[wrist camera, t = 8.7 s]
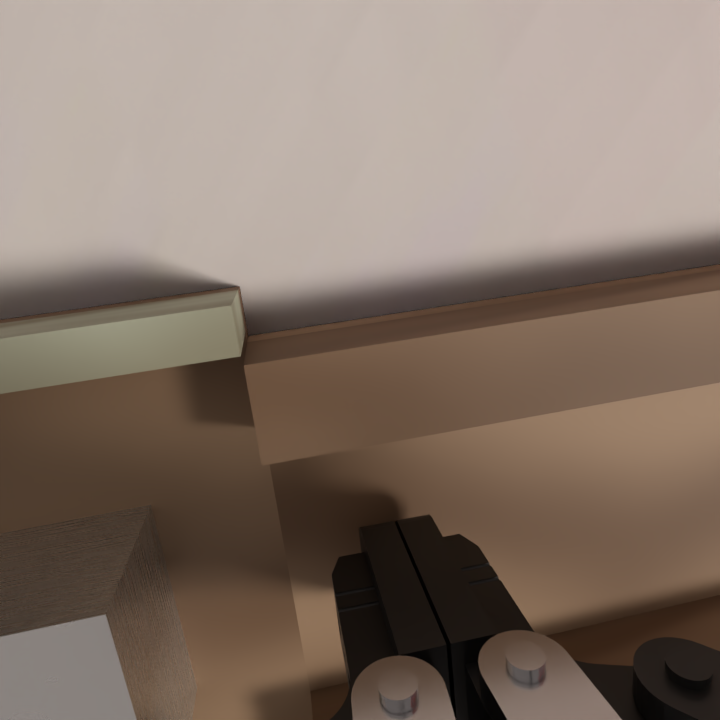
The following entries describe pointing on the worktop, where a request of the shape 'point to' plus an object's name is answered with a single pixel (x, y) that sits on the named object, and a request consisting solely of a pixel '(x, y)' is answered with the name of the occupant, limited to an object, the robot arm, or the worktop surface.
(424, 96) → the worktop surface
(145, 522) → the block
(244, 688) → the slotted board with tray
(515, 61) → the worktop surface
